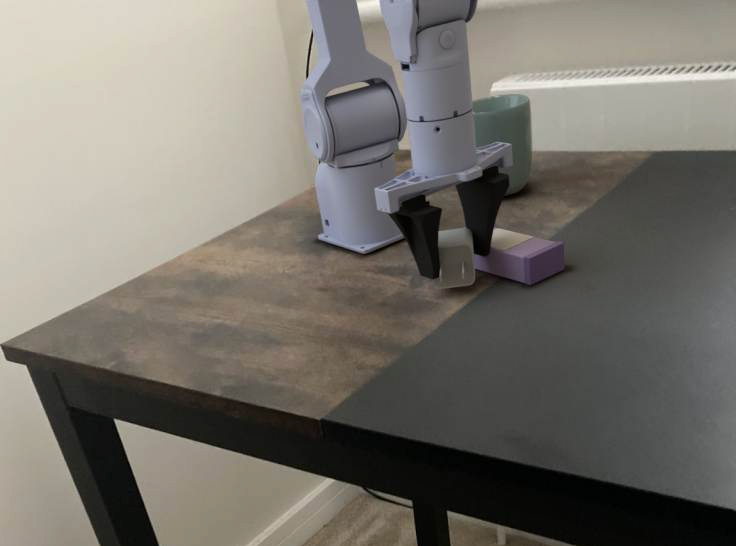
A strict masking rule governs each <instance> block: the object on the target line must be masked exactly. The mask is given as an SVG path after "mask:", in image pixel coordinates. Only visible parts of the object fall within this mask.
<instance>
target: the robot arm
mask: <svg viewBox="0 0 736 546" xmlns="http://www.w3.org/2000/svg"><path fill="white" fill-rule="evenodd" d="M378 1H379V8H380V11H381V12H380V13H381V15H382V19H383V23H384V24H385V27H386V30H387V32H388V34H389V38H390V45H391V52H392V53H391V54H393V57H394V59H395V61H397V62H399V65H400V73H401V81H402V89H403V95H402V93H401V91H400V89H399V86H398V83H397V80H396V76H395V72H394V70H393V66H392V65H391V64H390V63H388V62H387V61H385V60H383V59H382V58H379V57H378V56H376V55H375V54H373V53H371V52H370V51H368V50H367V46H366V41H365V36H364V31H363V27H362V22H361V16H360V12H359V7H358V2H357V0H305V3H306V7H307V12H308V17H309V20H310V24H311V25H310V26H311V30H312V34H313V38H314V43H315V47H316V52H317V56H318V61H317V63H316V65H315V66H314V68H313V70H312V71H311V72H310V73H309V75H308V77H306V79H305V80H304V82H303V84H302V86H301V88H300V91H299V93H300V102H301V108H302V125H303V131H304V135H305V140H306V143H307V145H308V148H309V149H310V151H311V154H312V155H313V156H314V157H315V158H316V159H317V160H318V161H319V164H318V166H317V169H316V171H315V172H316V173H315V177H314V186H315V192H316V198H317V203H318V208H319V213H320V219H321V224H322V230H323V233H319V234H318V235H317V239H318V240H319V241H322V242H325V243H328V244H331V245H333V246H334V245H335V246H337V247H340V248H341V247H342V248H344V249H347V250H351V251H353V252H357V253H359V254H363V255H364V254H369V253H372V252H374V251H376V250H379V249H381V248H384V247H387V246H389V245H390V244H393V243H396V242H398V241H400V240H403V239H405V241H406V244H407V246H408V247H409V250H410V252H411V255H412V256H413V258H414V261H415V264H416V267H417V270H418V272H419V275H420V276H421V277H424V278H427V279H430V280H432V279H436V278H438V277H439V275H440V260H439V249H438V234H439V231H440V225H441V216H442V212H443V208H441V207H439V206H435V205H431V203H430V202H431V201H430V200H427V197H429V196H431V195H434V194H437V193H439V192H441V191H444V190H447V189H449V188H451V187H454V186H455V189H456V191H457V194H458V198H459V200H460V204H461V209H462V213H463V216H464V223H465V224H464V225H465V226H466V228H468V229H470V230H471V232H472V236H473V247H474V254H476V255H480V256H483V257H485V256H488V255H489V252H490V247H491V241H492V235H493V230H494V228H495V225H496V220H497V216H498V214H499V210H500V208H501V204H502V202H503V200H504V198H505V196H504V195H505V193H506V191H507V189H508V188H509V186H510V183H509V175H508V174H504V173H499V169H498V168H500V167H501V168H507V167H509V166H512V165H513V157H512V144H508V143H501V142H495V143H493V144H490V145H486V146H483V147H479V148H476V141H475V128H474V116H473V103H472V101H473V91H472V79H471V68H470V67H471V66H470V54H469V52H470V51H469V42H468V30H467V28H468V27H467V24H468V23H469V22H471V20H472V19H473V18H474V16H475V14H476V10H477V7H478V0H378ZM358 83H365V84H366V85H365V86H362V87H357V88H353V89H350V90H347V91H343V92H339V93H335V94H331V95H328V94H329V93H330V92H331V91H334V90H335V89H338V88H342V87H346V86H351V85H354V84H358ZM406 130H407V133H408V140H409V148H410V157H411V166H412V167H411V168H409V169H408V170H406V171H403V173H401V174H399V175H397V168H396V161H395V153H396V152H399V151H400V147H399V143H400V142H401V141H402V140H403V138H404V136H405V133H406Z"/></svg>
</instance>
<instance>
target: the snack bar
mask: <svg viewBox="0 0 736 546" xmlns="http://www.w3.org/2000/svg"><path fill="white" fill-rule="evenodd" d="M462 228H466V225H465V226H463V227H462ZM474 258H475V270H478V271H482V272H485V273H489V274H492V275H495V276H499V277H502V278H506V279H509V280H512V281H516V282H520V283H524V284H525V285H528V286H532V285H534V284H536V283H538V282H541V281H543V280H544V279H547V278H549V277H551V276H554V275H555V274H557V273H559V272H562V271H563V270H565V269H566V267H565V242H563V241H559V240H558V241H554V240H553V241H552V240H548V239H545V238H540V237H536V236H533V235H529V234H526V233H525V234H524V233H520V232H516V231H511V230H508V229H504V228H499V227H494V230H493V235H492V241H491V247H490V252H489V255H488V256H485V257H483V256H480V255H476V254H474Z"/></svg>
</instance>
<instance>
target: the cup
mask: <svg viewBox="0 0 736 546" xmlns="http://www.w3.org/2000/svg"><path fill="white" fill-rule="evenodd" d="M472 103H473V116H474V128H475V141H476V148H479V147H483V146H486V145H490V144H493V143H495V142H501V143H508V144H512V157H513V165H512V166H509V167H507V168H501V167H500V168H498V169H499V173H504V174H508V175H509V183H510V186H509V188H508V189H507V191H506V193H505V195H504V197H508V196H511V195H512V196H513V195H514V194H517V193H518V192H520V191H522V190H523V189H524V188H525V187H526V185H527V184H528V182H529V180H530V176H531V172H532V166H533V165H532V164H533V121H532V120H533V119H532V105H531V99H530V97H529V96H528V95H525V94H520V93H509V94H498V95H492V96H487V97H483V98H477V99H475V100H472Z"/></svg>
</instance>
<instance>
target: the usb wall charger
mask: <svg viewBox="0 0 736 546" xmlns="http://www.w3.org/2000/svg"><path fill="white" fill-rule="evenodd" d="M438 249H439V260H440V275H439V277H438V278H436V279H431V282H432V285H433V286H434V288H435V289H439V290H442V289H450V288H460V287H468V286H471V285H473V284H474V283H475V281H476V269H475V258H474V247H473V236H472V232H471V230H470V229H468V228H463V227H460V228H452V229H446V230H445V229H444V230H439V234H438Z"/></svg>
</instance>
